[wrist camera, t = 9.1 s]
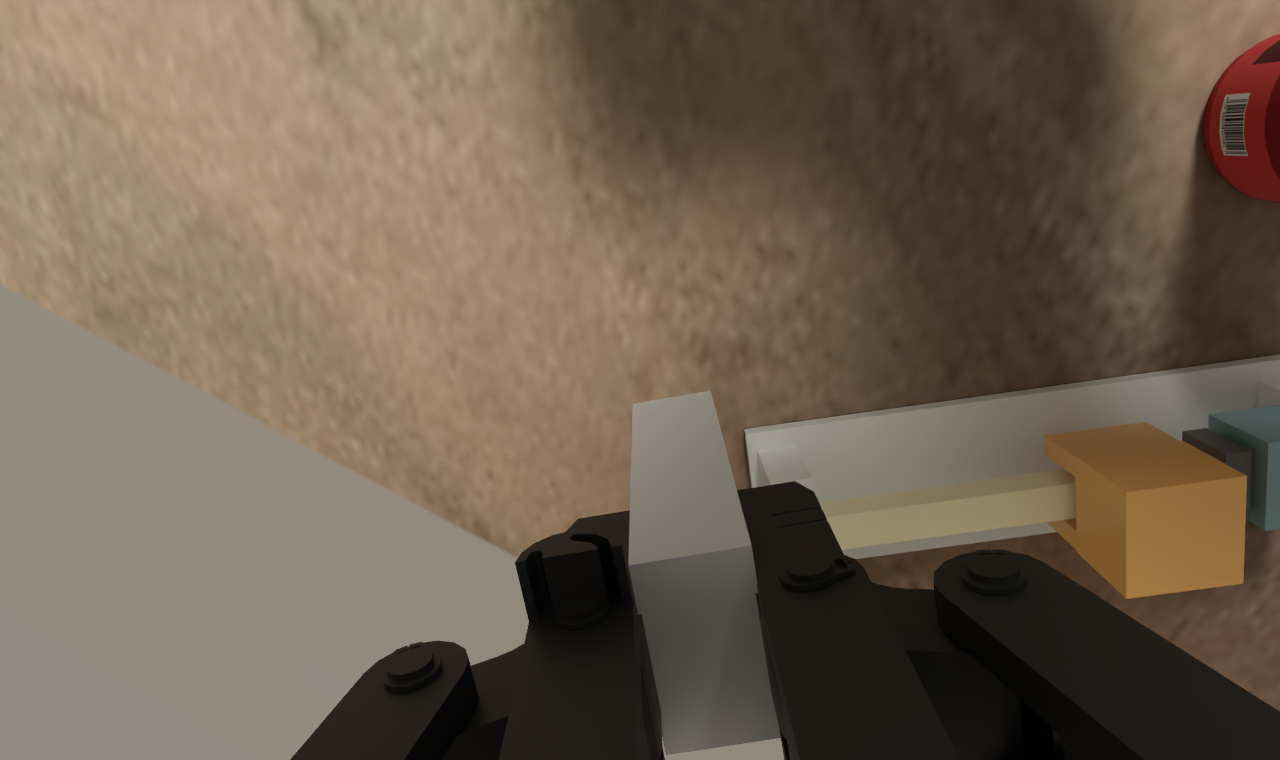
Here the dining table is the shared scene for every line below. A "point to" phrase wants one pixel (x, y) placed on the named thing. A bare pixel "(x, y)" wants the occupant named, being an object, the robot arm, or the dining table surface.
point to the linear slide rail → (1012, 454)
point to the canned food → (1248, 122)
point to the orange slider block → (1152, 510)
